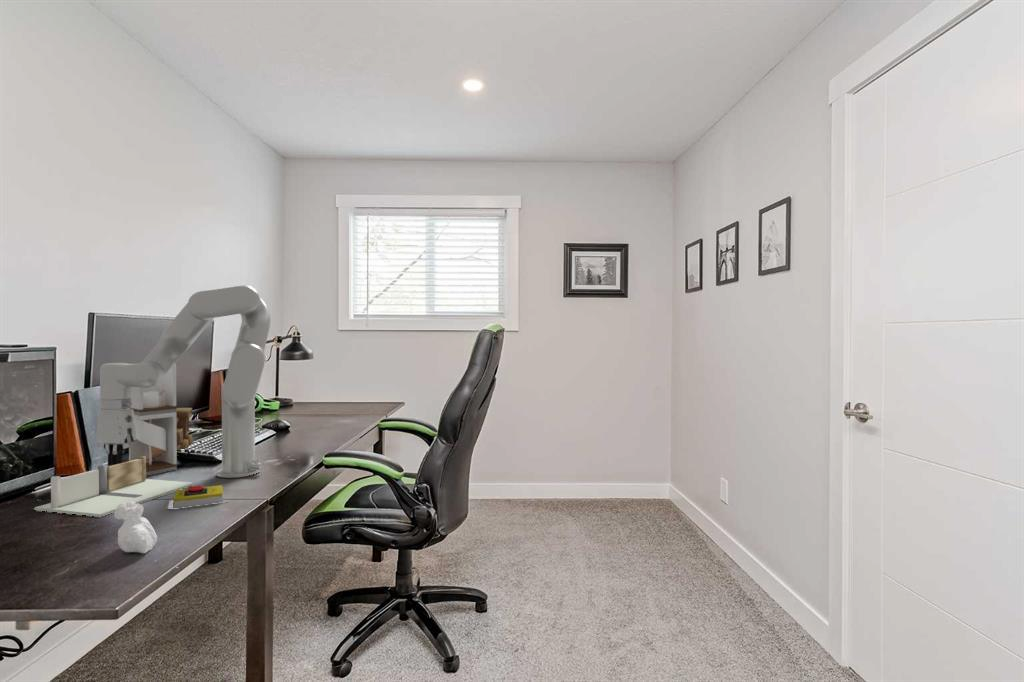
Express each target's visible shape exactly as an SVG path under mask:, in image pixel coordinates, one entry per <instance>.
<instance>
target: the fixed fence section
mask: <svg viewBox="0 0 1024 682" xmlns="http://www.w3.org/2000/svg"><path fill="white" fill-rule="evenodd" d="M107 467H108V464H98V465H97V469H94V470H93V469H92V470H89V471H88V470H87V471H84V472H80V473H78V474H77V473H76V474H73V475H68V476H65V477H61V476H60V475H59V476H58V475H56V476H51V477H50V503H51V508H58V507H60V506H63V505H66V504H70V503H73V502H76V501H80V500H83V499H86V498H90V497H93V496H96V495H99V494H104V493H107Z"/></svg>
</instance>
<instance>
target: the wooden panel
mask: <svg viewBox="0 0 1024 682" xmlns="http://www.w3.org/2000/svg"><path fill="white" fill-rule="evenodd" d="M146 479H147V476H146V456H140V457H139V459H136V460H132V461H129V460H127V461H125V462H124V461H123V462H122V463H120V464H116V465H112V466H108V465H107V491H110V490H114V489H117V488H121V487H124V486H127V485H131V484H134V483H137V482H141V481H145V480H146Z"/></svg>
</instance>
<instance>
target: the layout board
mask: <svg viewBox="0 0 1024 682" xmlns="http://www.w3.org/2000/svg"><path fill="white" fill-rule="evenodd" d="M191 485H194V486H195V482H191V481H190V482H189V481H178V480H177V481H176V480H164V479H163V480H162V479H151V478H146V480H145V481H141V482H137V483H134V484H131V485H127V486H124V487H121V488H117V489H114V490H110V491H107V493H104V494H99V495H96V496H93V497H90V498H86V499H83V500H80V501H76V502H73V503H70V504H66V505H63V506H60V507H58V508H51V502H49V503H46V504H42V505H39V506H35V507H33V510H36V511H35V512H42V511H45V513H52V512H57V513H56V514H62V513H66V514H65V515H72V514H76V515H75V516H82V515H86V516H85V517H92V516H94V518H103V517H106V516H108V514H109V515H111V513H112V514H114V512H115V510H116V509H117V507H118V506H119V505H120V504H124V503H127V502H130V501H132V502H133V501H135V503H136V504H137V503H138V504H140V503H141V504H144V503H147V502H150V501H153V500H155V499H154V498H156V499H158V498H157V497H159V498H160V496H162V497H164V496H163V495H165V496H167V495H169V493H170V494H173V493H175V491H176V490H180V489H183V488H185V489H187V488H186V487H188V488H189V486H191ZM191 487H192V486H191ZM172 492H173V493H172ZM166 494H167V495H166ZM152 499H153V500H152ZM149 500H150V501H149ZM146 501H147V502H146ZM143 502H144V503H143ZM141 504H140V505H141ZM46 511H47V512H46ZM105 515H106V516H105ZM102 516H103V517H102Z"/></svg>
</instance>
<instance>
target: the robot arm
mask: <svg viewBox="0 0 1024 682" xmlns="http://www.w3.org/2000/svg"><path fill="white" fill-rule="evenodd" d="M235 315H240V317H241V323H240V328H239V332H238V336H237V340H236V343H235V346H234V348H233V351H232V352H231V357H230V361H229V364H228V368H227V372H226V375H225V379H224V382H223V384H222V386H221V389H220V391H221V468H220V469H218V470H217V471H216V473H215V475H216V476H217V477H218V478H222V479H233V478H234V479H235V478H236V479H237V478H245V477H250V476H254V475H256V473H257V474H259V473H258V472H261V471H262V470H263V468H264V466H265V463H264V462H258V461H259V459H258V458H257V457H256V443H255V442H256V431H255V429H256V426H255V425H256V410H255V409H256V408H255V407H256V406H255V405H256V404H255V399H256V396H257V392H258V389H259V385H260V382H261V377H262V374H263V370H264V366H265V362H266V355H265V349H266V345H267V341H268V336H269V333H270V328H271V314H270V311H269V309H268V306H267V304H266V302H265V301H264V299H262V298H261V296H260V293H259V292H258V291H257V290H256V289H255V288H254V287H252V286H251V285H236V286H230V287H224V288H216V289H209V290H199V291H197V292H194V293H193V294H192V295H191V296H190V297H189V299H188V300H187V303H186V304H185V305H184V307H183V308H182V309H181V310H180V311H179V313H178V314H177V315H176V316H175V317H174V319H172V320H171V321H170V322H169V324H168V325H167V326H166V327H165V329H164V330H163V332H162V333H161V335H160V339H159V340H158V342H157V343H156V345H155V346H154V347H153V349H151V351H150V352H149V353H148V354H147V355H146V357H145V358H144V359H143V360H142V361H141V362H140V363H127V362H107V363H103V364H102V365H100V369H99V410H98V413H97V419H96V431H95V435H96V442H98V446H99V447H102V448H104V449H105V453H106V454H107V467H108V466H112V465H116V464H120V463H123V454H124V453H125V450H126V449H129V448H130V447H132V443H131V442H134V441H136V421H135V415H134V411H133V409H131V405H132V402H131V387H140V388H148V387H152V386H154V385H155V384H157V383H158V382H159V381H160V380H161V379H162V378H163V377H164V376H165V374H166V373H167V372H168V371H169V370H170V368H171V367H172V366H173V365H174V364H176V362H177V361H179V359H180V358H181V357H182V355H184V353H186V351H188V350H189V348H190V347H191V346H192V345H193V344H194V343H195V341H196V340H197V339H199V337H200V335H201V334H202V333H203V332H204V330H206V328H207V327H208V326H209V324H210V323H211V322H213V320H214V319H215V318H222V317H228V316H235ZM253 474H254V475H253ZM249 475H250V476H249Z"/></svg>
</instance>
